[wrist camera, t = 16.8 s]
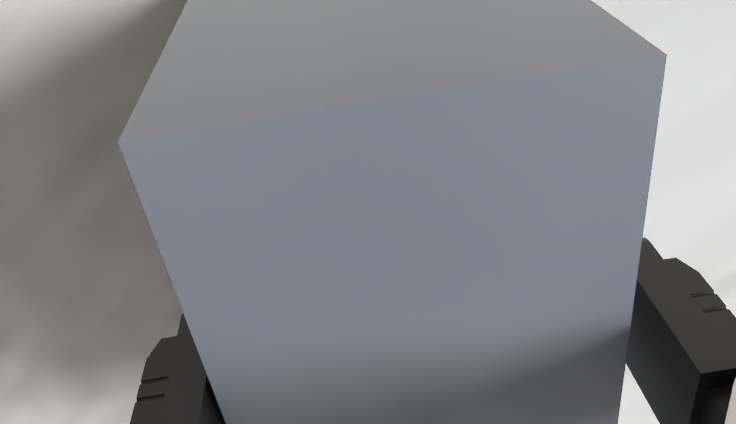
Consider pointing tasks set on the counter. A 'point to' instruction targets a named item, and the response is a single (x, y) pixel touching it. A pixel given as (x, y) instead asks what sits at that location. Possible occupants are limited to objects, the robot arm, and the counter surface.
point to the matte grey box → (402, 205)
